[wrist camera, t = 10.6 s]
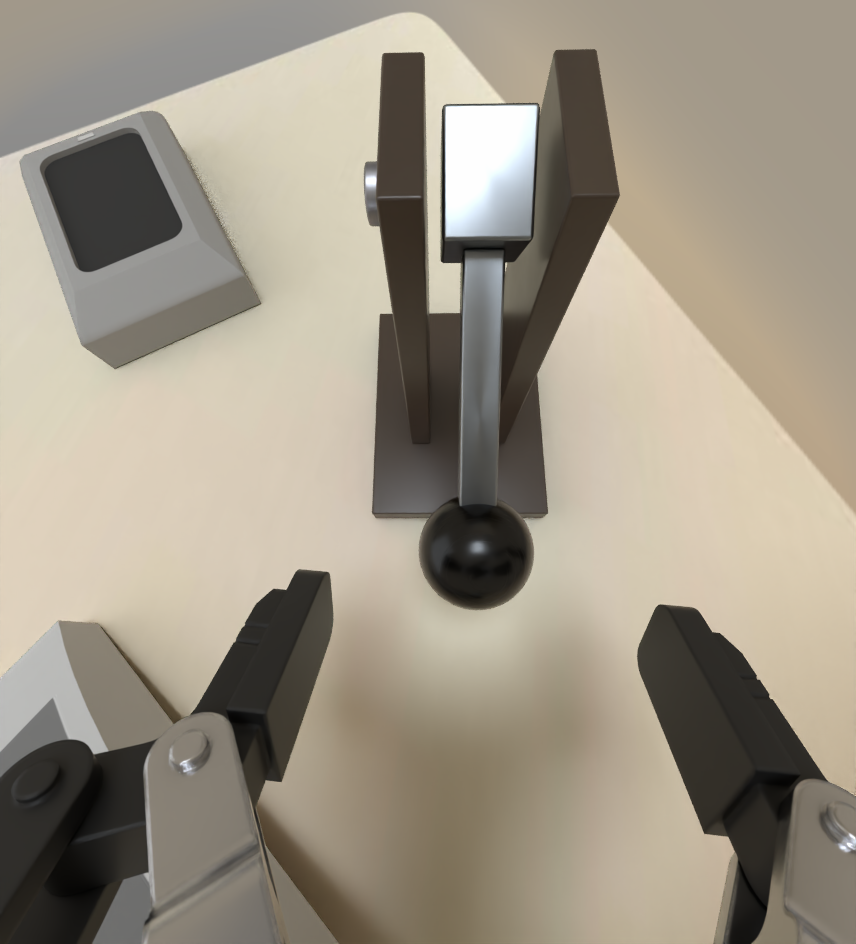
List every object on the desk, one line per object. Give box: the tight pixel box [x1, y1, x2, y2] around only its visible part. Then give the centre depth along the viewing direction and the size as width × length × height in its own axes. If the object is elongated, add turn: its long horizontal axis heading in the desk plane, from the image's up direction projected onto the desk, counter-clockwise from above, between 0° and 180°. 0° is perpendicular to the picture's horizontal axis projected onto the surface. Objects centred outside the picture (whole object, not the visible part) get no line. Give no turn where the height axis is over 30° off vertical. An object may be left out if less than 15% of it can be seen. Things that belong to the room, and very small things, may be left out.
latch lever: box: [419, 103, 540, 610], centre depth 12 cm, size 13×4×4 cm, turn 179°
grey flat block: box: [20, 111, 260, 369], centre depth 26 cm, size 10×4×15 cm
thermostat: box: [0, 621, 339, 944], centre depth 16 cm, size 11×21×6 cm, turn 50°
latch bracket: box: [364, 49, 620, 518], centre depth 17 cm, size 12×9×16 cm
